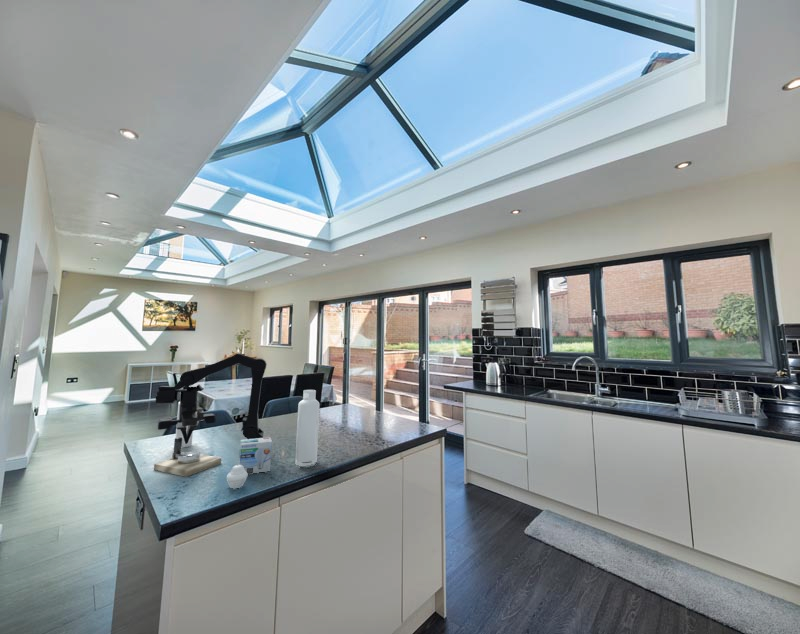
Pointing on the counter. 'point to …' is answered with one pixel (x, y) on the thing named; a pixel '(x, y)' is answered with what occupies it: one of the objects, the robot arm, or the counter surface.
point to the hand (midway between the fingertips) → (186, 443)
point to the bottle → (307, 429)
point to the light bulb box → (255, 454)
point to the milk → (179, 433)
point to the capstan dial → (184, 457)
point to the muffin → (237, 476)
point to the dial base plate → (187, 465)
